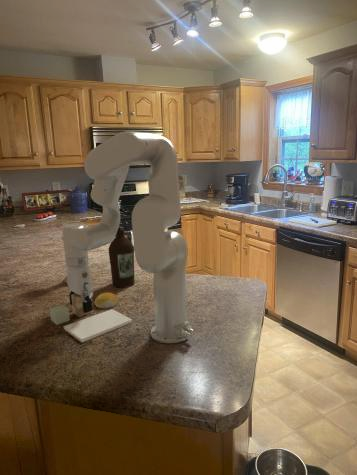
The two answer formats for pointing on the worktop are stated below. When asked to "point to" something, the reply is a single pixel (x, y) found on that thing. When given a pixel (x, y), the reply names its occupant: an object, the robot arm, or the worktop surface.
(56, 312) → the sage cube
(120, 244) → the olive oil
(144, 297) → the worktop surface
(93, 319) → the ceramic tile
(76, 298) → the maple block
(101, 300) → the bread roll
